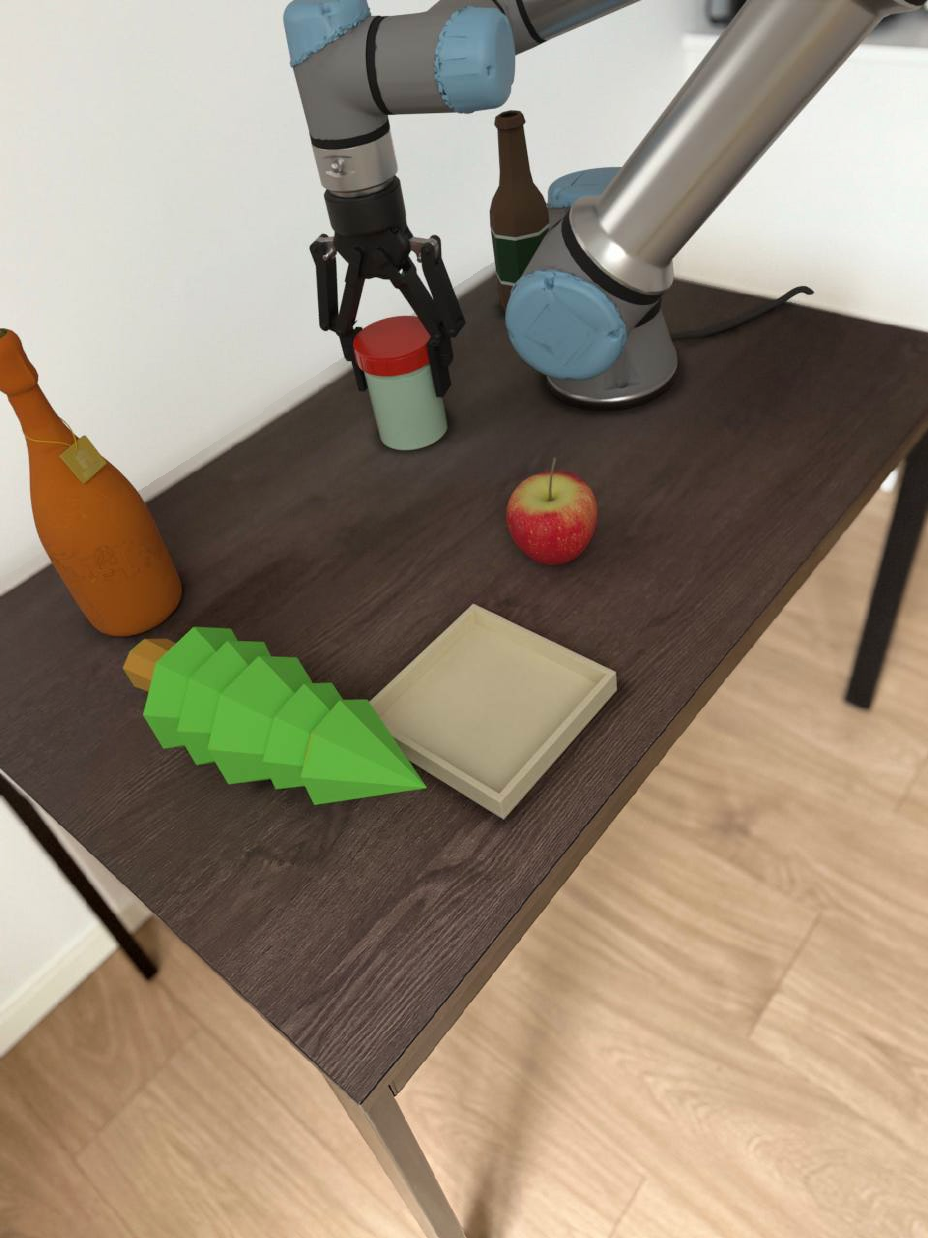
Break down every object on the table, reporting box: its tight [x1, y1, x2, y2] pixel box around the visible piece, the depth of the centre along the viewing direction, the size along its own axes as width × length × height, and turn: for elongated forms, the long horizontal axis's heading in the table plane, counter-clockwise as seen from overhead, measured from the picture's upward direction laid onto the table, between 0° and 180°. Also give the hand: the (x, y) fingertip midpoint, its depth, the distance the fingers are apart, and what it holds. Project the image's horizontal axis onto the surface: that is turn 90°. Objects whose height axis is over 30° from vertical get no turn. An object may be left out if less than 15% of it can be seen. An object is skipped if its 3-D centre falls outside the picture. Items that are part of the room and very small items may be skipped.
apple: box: [505, 457, 598, 566], centre depth 88 cm, size 8×8×10 cm
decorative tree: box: [122, 626, 428, 806], centre depth 74 cm, size 11×12×30 cm
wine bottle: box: [0, 327, 183, 637], centre depth 85 cm, size 10×10×30 cm
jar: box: [364, 363, 448, 451], centre depth 107 cm, size 8×8×11 cm
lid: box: [353, 315, 431, 377], centre depth 103 cm, size 9×9×2 cm
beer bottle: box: [489, 109, 549, 314], centre depth 120 cm, size 8×8×24 cm
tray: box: [369, 603, 618, 820], centre depth 78 cm, size 15×15×2 cm
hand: (404, 387), depth 107 cm, fingers closed on lid, 9 cm apart
